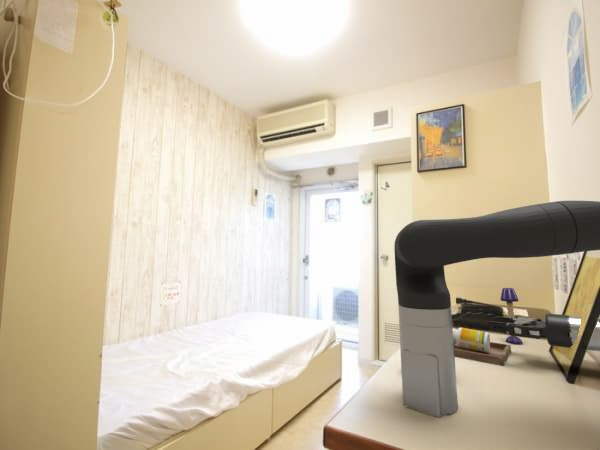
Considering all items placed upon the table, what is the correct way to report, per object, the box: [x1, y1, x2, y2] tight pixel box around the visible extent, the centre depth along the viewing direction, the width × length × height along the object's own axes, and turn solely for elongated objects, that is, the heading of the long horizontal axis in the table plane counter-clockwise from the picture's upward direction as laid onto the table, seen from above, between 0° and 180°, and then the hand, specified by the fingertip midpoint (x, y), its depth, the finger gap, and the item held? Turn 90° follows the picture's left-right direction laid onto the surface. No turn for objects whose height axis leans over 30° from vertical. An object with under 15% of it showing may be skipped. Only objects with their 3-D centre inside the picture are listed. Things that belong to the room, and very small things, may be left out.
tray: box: [454, 341, 512, 367], centre depth 81 cm, size 15×14×2 cm
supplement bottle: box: [452, 327, 491, 353], centre depth 83 cm, size 5×5×10 cm
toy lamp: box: [500, 287, 524, 345], centre depth 92 cm, size 5×5×17 cm
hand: (491, 322), depth 79 cm, fingers open, 8 cm apart
